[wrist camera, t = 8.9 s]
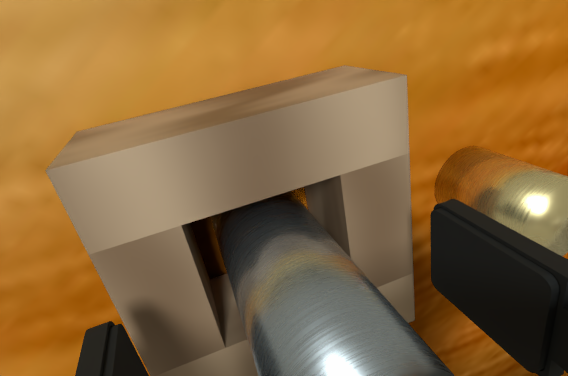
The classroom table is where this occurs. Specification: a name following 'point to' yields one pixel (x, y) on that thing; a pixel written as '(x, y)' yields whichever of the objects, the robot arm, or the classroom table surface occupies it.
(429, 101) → the classroom table surface
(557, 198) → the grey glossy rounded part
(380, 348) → the long steel pin
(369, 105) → the beige socket block
